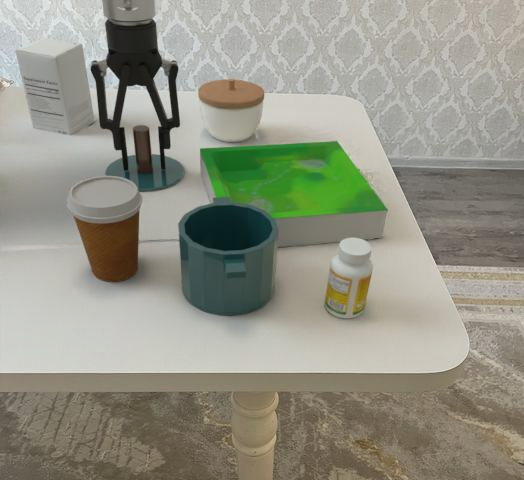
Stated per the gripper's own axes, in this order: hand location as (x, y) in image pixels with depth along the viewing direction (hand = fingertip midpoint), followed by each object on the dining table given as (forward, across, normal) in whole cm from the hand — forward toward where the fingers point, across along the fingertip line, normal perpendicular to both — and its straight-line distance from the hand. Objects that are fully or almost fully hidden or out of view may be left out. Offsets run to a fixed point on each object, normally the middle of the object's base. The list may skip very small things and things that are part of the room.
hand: (144, 166), depth 103 cm
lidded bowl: (+2, +17, +16) cm, 23 cm away
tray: (+2, +23, -12) cm, 26 cm away
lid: (+1, 0, 0) cm, 1 cm away
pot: (+2, +11, -34) cm, 36 cm away
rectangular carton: (+2, -16, +23) cm, 28 cm away
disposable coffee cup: (+2, -4, -28) cm, 29 cm away
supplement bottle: (+2, +26, -40) cm, 48 cm away
